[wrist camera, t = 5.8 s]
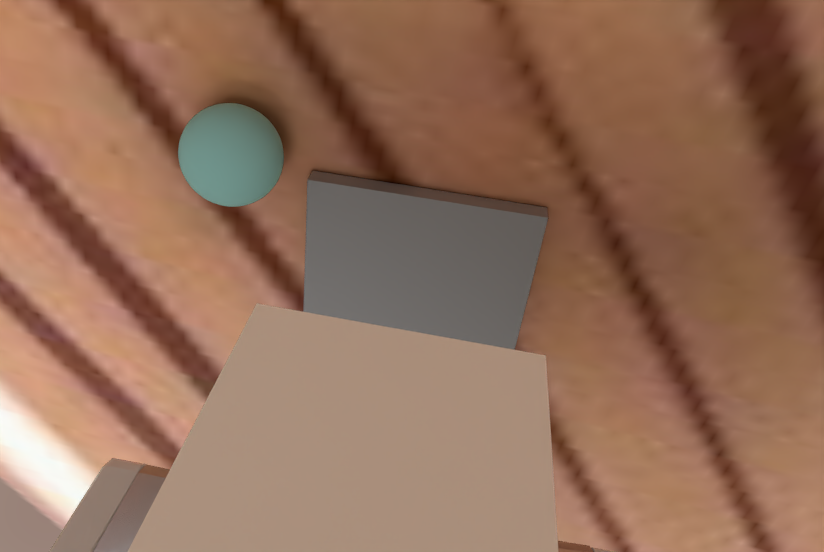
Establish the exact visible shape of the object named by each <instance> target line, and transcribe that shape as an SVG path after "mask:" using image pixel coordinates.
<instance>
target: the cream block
mask: <svg viewBox="0 0 824 552" xmlns="http://www.w3.org/2000/svg"><path fill="white" fill-rule="evenodd" d="M128 552H558V537H557V521H556V506H555V490H554V474H553V459H552V443H551V428H550V412H549V397H548V381H547V365H546V355H541V354H535V353H530V352H524V351H519V350H513V349H508V348H502V347H496V346H491V345H485V344H480V343H474V342H469V341H463V340H457V339H452V338H446V337H441V336H435V335H430V334H424V333H419V332H413V331H407V330H402V329H396V328H391V327H385V326H380V325H374V324H369V323H363V322H357V321H352V320H346V319H341V318H335V317H330V316H324V315H319V314H313V313H307V312H302V311H296V310H291V309H285V308H280V307H274V306H268V305H263V304H256V306H255V308H254V310H253V312H252V314H251V315H250V317H249V319H248V321H247V323H246V325H245V327H244V329H243V331H242V333H241V335H240V337H239V339H238V340H237V342H236V344H235V346H234V348H233V350H232V352H231V354H230V356H229V358H228V360H227V362H226V363H225V365H224V367H223V369H222V371H221V373H220V375H219V377H218V379H217V381H216V383H215V385H214V386H213V388H212V390H211V392H210V394H209V396H208V398H207V400H206V402H205V404H204V406H203V408H202V410H201V411H200V413H199V415H198V417H197V419H196V421H195V423H194V425H193V427H192V429H191V431H190V433H189V434H188V436H187V438H186V440H185V442H184V444H183V446H182V448H181V450H180V452H179V454H178V456H177V457H176V459H175V461H174V463H173V465H172V467H171V469H170V471H169V473H168V475H167V477H166V479H165V481H164V482H163V484H162V486H161V488H160V490H159V492H158V494H157V496H156V498H155V500H154V502H153V504H152V505H151V507H150V509H149V511H148V513H147V515H146V517H145V519H144V521H143V523H142V525H141V527H140V528H139V530H138V532H137V534H136V536H135V538H134V540H133V542H132V544H131V546H130V548H129V550H128Z"/></svg>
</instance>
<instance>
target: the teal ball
mask: <svg viewBox="0 0 824 552" xmlns="http://www.w3.org/2000/svg"><path fill="white" fill-rule="evenodd" d="M178 157H179V163H180V167H181V171H182V173H183V175H184V177H185V179H186V181H187V182H188V183H189V185H190V186H191V187H192V188H193V190H194V191H196V192H197V193H198V194H199V195H200V196H202V197H203V198H205V199H206V200H208V201H210V202H213V203H216V204H219V205H223V206H230V207H235V206H244V205H248V204H251V203H254V202H256V201H258V200H260V199H261V198H263V197H264V196H265V195H267V194H268V193H269V192H270V191H271V190H272V188H273V187H274V186H275V185H276V183H277V181H278V179H279V177H280V175H281V172H282V168H283V162H284V152H283V146H282V142H281V139H280V136H279V134H278V132H277V131H276V129H275V127H274V126H273V125H272V123H271V122H270V121H269V120H268V119H267V118H266V117H265V116H264V115H262V114H261V113H260V112H258V111H256V110H254V109H252V108H250V107H248V106H245V105H241V104H237V103H221V104H216V105H213V106H210V107H207V108H205V109H204V110H202V111H200V112H199V113H198V114H196V115H195V116H194V117H193V118H192V119H191V120H190V121H189V122H188V124H187V125H186V127H185V129H184V131H183V133H182V135H181V138H180V141H179V149H178Z"/></svg>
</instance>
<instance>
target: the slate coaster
mask: <svg viewBox="0 0 824 552" xmlns="http://www.w3.org/2000/svg"><path fill="white" fill-rule="evenodd" d="M547 221H548V208H547V207H541V206H534V205H528V204H522V203H515V202H509V201H502V200H496V199H490V198H483V197H477V196H471V195H464V194H458V193H452V192H445V191H439V190H433V189H426V188H420V187H414V186H407V185H401V184H395V183H388V182H382V181H376V180H369V179H363V178H357V177H350V176H344V175H338V174H331V173H325V172H319V171H312V173H311V174H310V176H309V178H308V181H307V214H306V248H305V281H304V312H307V313H313V314H319V315H324V316H330V317H335V318H341V319H346V320H352V321H357V322H363V323H369V324H374V325H380V326H385V327H391V328H396V329H402V330H407V331H413V332H419V333H424V334H430V335H435V336H441V337H446V338H452V339H457V340H463V341H469V342H474V343H480V344H485V345H491V346H496V347H502V348H508V349H513V350H515V346H516V342H517V338H518V334H519V331H520V327H521V323H522V319H523V315H524V311H525V307H526V303H527V299H528V295H529V291H530V287H531V284H532V280H533V276H534V272H535V268H536V264H537V260H538V256H539V252H540V248H541V244H542V240H543V237H544V233H545V229H546V225H547Z"/></svg>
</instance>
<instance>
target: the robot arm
mask: <svg viewBox="0 0 824 552" xmlns="http://www.w3.org/2000/svg"><path fill="white" fill-rule="evenodd" d="M169 471H170V469H165V468H160V467H156V466H151V465H147V464H142V463H137V462H131V461H126V460H121V459H115V458H112V459H111V460H110V461H109V462H108V463H107V464H105V465H104V466H103V467H102V469H101V470H100V472H99V473H98V475H97V476H96V478H95V480H94V481H93V483H92V484H91V486H90V488H89V489H88V491H87V492H86V494H85V495H84V497H83V499H82V500H81V502H80V503H79V505H78V507H77V508H76V510H75V511H74V513H73V514H72V516H71V518H70V519H69V521H68V522H67V524H66V526H65V527H64V529H63V530H62V532H61V534H60V535H59V537H58V538H57V540H56V541H55V543H54V545H53V546H52V548H51V549H50V551H49V552H128V550H129V548H130V546H131V544H132V542H133V540H134V538H135V536H136V534H137V532H138V530H139V528H140V527H141V525H142V523H143V521H144V519H145V517H146V515H147V513H148V511H149V509H150V507H151V505H152V504H153V502H154V500H155V498H156V496H157V494H158V492H159V490H160V488H161V486H162V484H163V482H164V481H165V479H166V477H167V475H168V473H169ZM558 552H615V551H609V550H603V549H597V548H591V547H590V546H587V545H581V544H575V543H569V542H563V541H558Z"/></svg>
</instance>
